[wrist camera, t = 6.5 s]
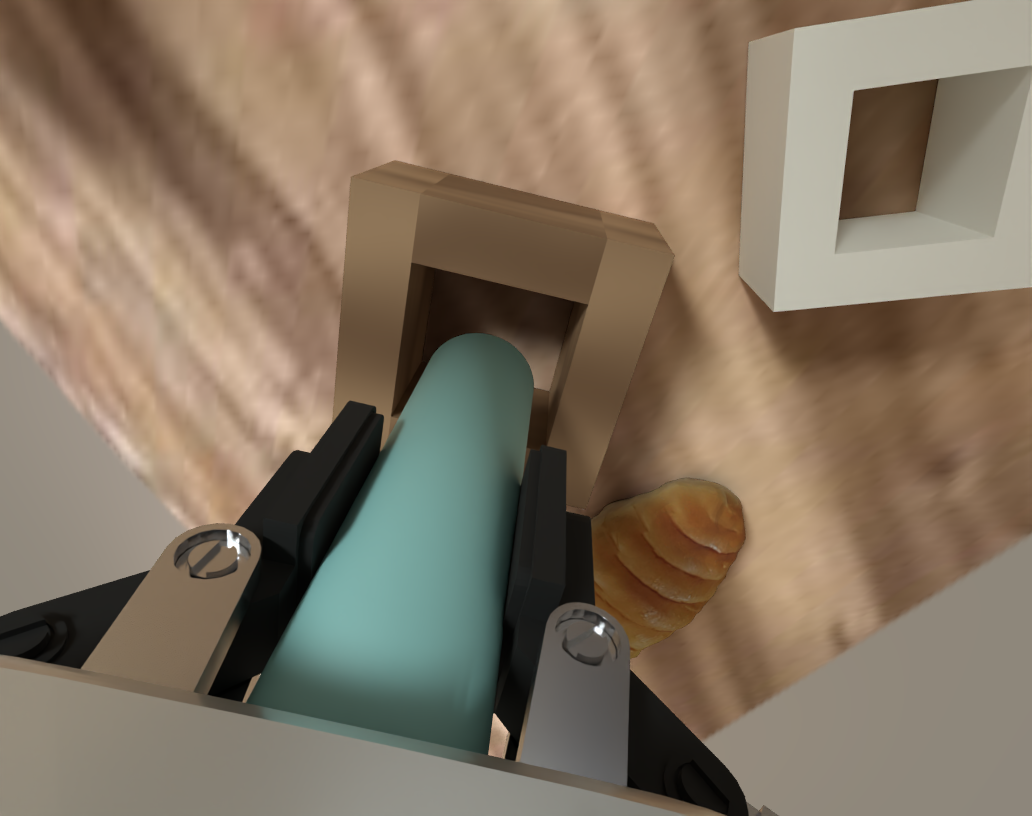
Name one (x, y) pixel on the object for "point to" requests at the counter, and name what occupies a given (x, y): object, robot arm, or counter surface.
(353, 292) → the brown square wooden frame
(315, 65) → the counter surface
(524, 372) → the dowel
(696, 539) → the pastry
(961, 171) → the white square holed block
